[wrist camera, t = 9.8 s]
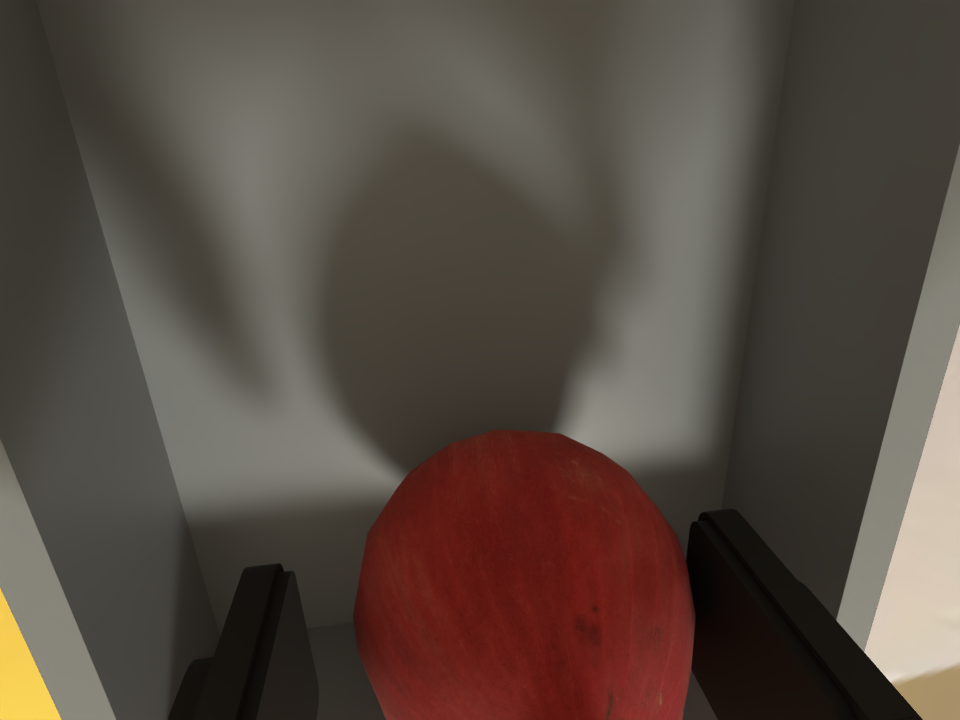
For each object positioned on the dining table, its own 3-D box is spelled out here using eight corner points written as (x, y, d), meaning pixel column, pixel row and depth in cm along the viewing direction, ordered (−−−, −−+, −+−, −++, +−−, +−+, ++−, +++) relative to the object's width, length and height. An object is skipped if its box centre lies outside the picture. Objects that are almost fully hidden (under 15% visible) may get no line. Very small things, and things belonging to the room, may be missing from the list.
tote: (862, -360, 10) (1283, -789, 5) (721, 572, 17) (839, 737, 13) (-113, -401, 8) (-771, -1069, 4) (204, 641, 16) (126, 858, 11)
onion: (643, 429, 14) (942, 757, 7) (515, 600, 16) (653, 1025, 8) (437, 320, 12) (560, 629, 5) (310, 529, 13) (259, 1013, 6)
